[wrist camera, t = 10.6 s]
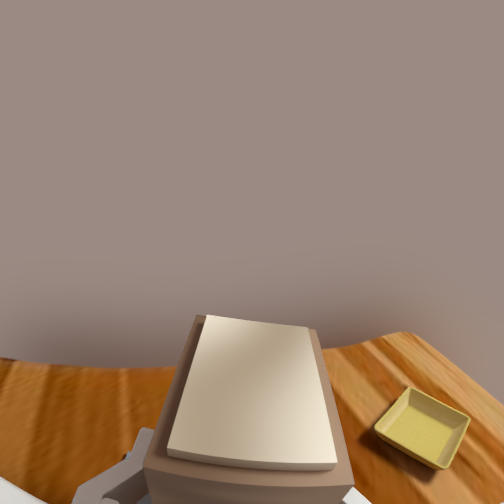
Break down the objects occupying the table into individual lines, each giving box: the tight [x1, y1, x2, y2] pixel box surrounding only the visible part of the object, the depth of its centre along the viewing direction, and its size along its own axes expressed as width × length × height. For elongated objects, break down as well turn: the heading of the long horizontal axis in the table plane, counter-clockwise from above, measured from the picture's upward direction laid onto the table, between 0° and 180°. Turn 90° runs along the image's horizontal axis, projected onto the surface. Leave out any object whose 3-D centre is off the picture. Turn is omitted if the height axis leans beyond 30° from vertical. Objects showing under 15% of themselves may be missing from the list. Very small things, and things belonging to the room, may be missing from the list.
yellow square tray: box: [374, 387, 471, 470], centre depth 23 cm, size 9×9×2 cm
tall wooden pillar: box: [143, 315, 355, 504], centre depth 9 cm, size 4×6×11 cm, turn 178°
